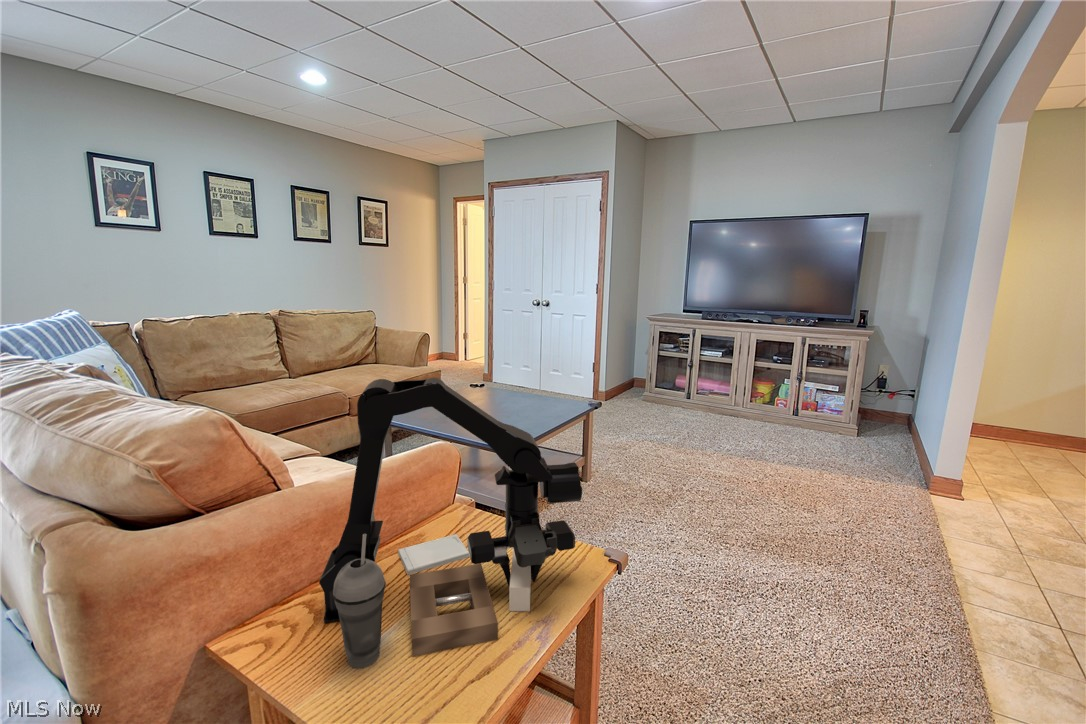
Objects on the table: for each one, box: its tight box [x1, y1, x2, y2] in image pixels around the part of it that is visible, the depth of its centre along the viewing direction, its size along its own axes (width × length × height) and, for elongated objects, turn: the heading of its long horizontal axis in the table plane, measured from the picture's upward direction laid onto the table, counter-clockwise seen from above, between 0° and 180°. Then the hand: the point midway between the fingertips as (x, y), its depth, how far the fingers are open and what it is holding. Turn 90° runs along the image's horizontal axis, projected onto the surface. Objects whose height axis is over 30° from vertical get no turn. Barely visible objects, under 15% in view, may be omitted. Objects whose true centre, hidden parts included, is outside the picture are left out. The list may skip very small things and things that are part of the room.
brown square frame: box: [409, 563, 499, 658], centre depth 81 cm, size 13×16×3 cm
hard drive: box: [397, 533, 470, 576], centre depth 98 cm, size 2×8×12 cm
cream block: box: [508, 548, 532, 612], centre depth 87 cm, size 4×12×4 cm, turn 0°
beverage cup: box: [332, 534, 387, 670], centre depth 70 cm, size 7×7×20 cm
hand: (521, 583), depth 88 cm, fingers closed on cream block, 4 cm apart
